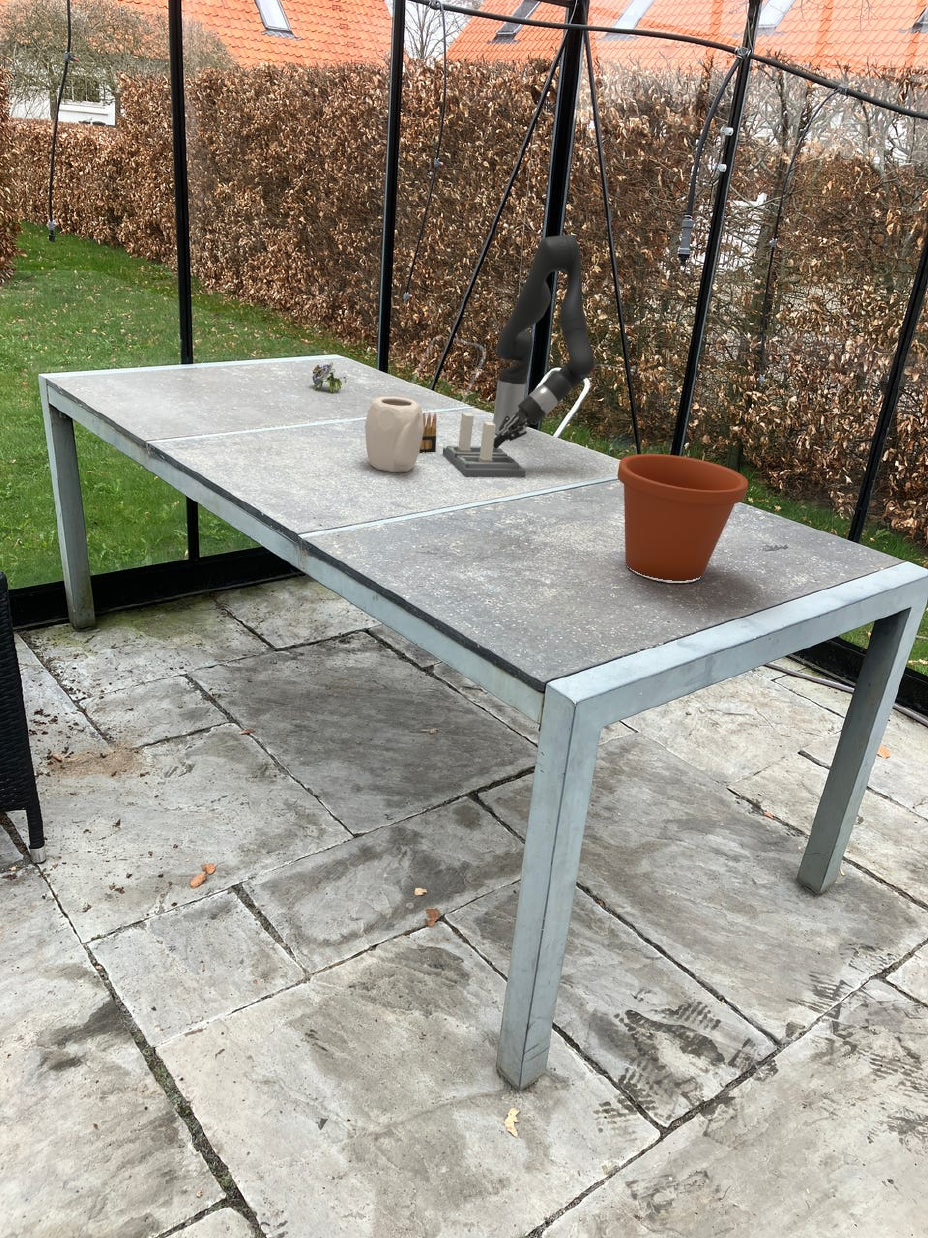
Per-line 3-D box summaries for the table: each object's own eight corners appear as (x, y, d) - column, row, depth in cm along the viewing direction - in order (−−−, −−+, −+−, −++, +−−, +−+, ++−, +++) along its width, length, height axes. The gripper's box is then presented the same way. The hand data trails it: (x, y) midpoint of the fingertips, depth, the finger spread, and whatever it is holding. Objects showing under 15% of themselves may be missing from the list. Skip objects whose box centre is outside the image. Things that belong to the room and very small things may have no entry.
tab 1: (456, 450, 288) (460, 412, 283) (466, 450, 289) (470, 412, 284) (460, 454, 284) (465, 415, 279) (470, 454, 285) (474, 415, 280)
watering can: (388, 484, 258) (393, 414, 250) (349, 456, 279) (353, 390, 271) (440, 481, 265) (446, 413, 258) (398, 454, 286) (403, 390, 278)
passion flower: (316, 404, 355) (303, 373, 355) (341, 397, 360) (329, 367, 360) (326, 393, 345) (313, 361, 345) (352, 386, 350) (340, 355, 350)
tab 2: (477, 460, 280) (482, 421, 275) (487, 460, 281) (492, 421, 276) (482, 464, 277) (487, 425, 272) (492, 464, 278) (497, 425, 273)
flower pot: (577, 561, 221) (593, 462, 212) (648, 539, 240) (666, 448, 230) (680, 605, 204) (703, 499, 194) (748, 578, 223) (772, 481, 213)
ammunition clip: (403, 453, 287) (406, 413, 282) (400, 451, 289) (403, 411, 284) (435, 452, 292) (439, 413, 287) (433, 450, 294) (436, 411, 289)
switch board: (442, 454, 291) (443, 443, 290) (498, 455, 297) (499, 444, 295) (465, 476, 272) (466, 464, 271) (524, 477, 278) (526, 465, 277)
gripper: (522, 389, 280) (477, 430, 281) (539, 400, 269) (493, 443, 270) (536, 408, 284) (492, 448, 285) (554, 419, 273) (508, 461, 274)
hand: (492, 445), depth 277 cm, fingers closed
